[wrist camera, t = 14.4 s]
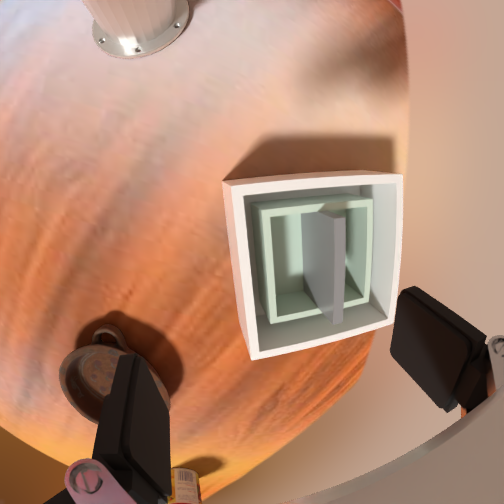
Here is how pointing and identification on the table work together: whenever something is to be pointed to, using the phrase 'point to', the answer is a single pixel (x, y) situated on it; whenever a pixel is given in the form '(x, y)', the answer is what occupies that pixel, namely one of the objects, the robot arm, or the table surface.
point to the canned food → (184, 487)
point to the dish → (97, 373)
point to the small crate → (312, 255)
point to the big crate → (318, 326)
